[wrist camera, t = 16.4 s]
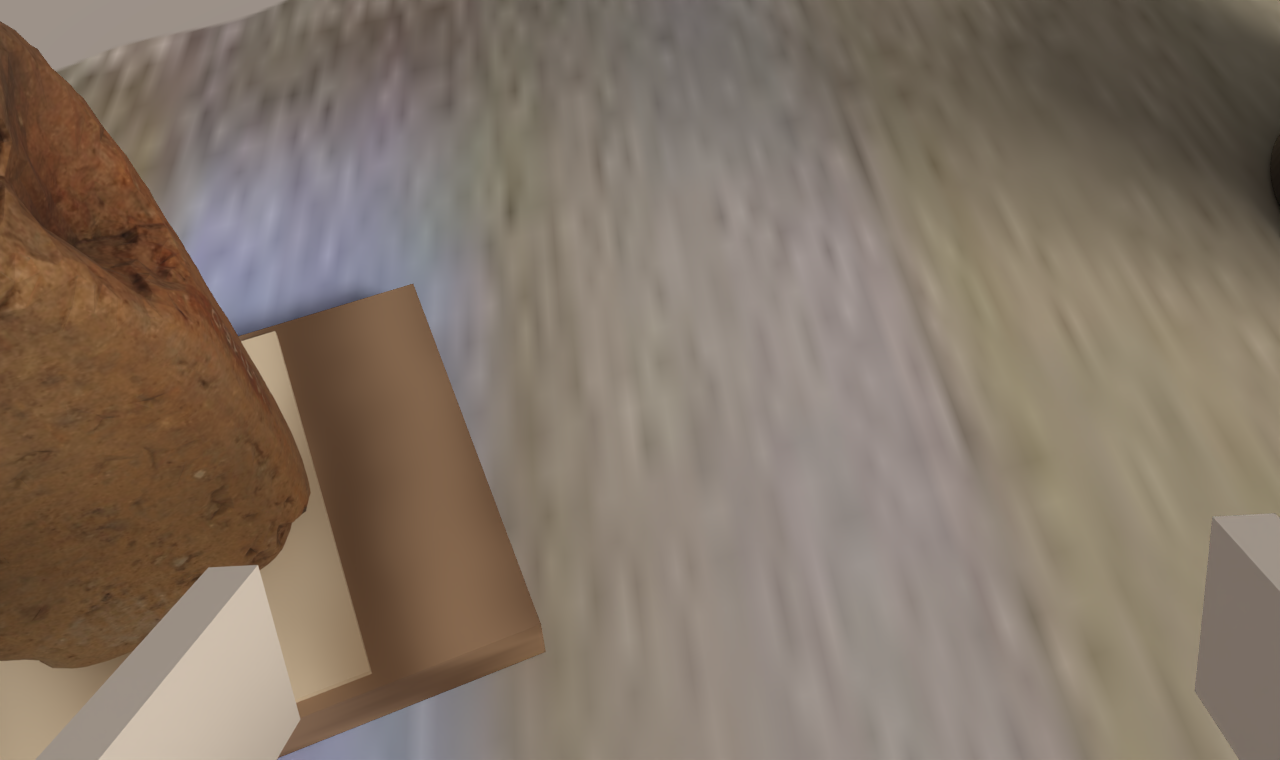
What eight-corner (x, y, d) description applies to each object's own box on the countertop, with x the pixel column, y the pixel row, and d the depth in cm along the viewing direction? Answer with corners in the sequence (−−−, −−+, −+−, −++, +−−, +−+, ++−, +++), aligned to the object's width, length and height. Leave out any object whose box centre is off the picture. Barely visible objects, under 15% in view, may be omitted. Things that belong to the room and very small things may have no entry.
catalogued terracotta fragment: (9, 715, 31) (-706, 357, 14) (-26, 512, 35) (-635, 30, 18) (352, 568, 34) (98, 122, 17) (288, 394, 37) (22, -120, 20)
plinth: (424, 326, 43) (411, 279, 40) (545, 651, 36) (540, 621, 33) (-146, 504, 38) (-205, 464, 35) (-137, 922, 31) (-211, 913, 28)
